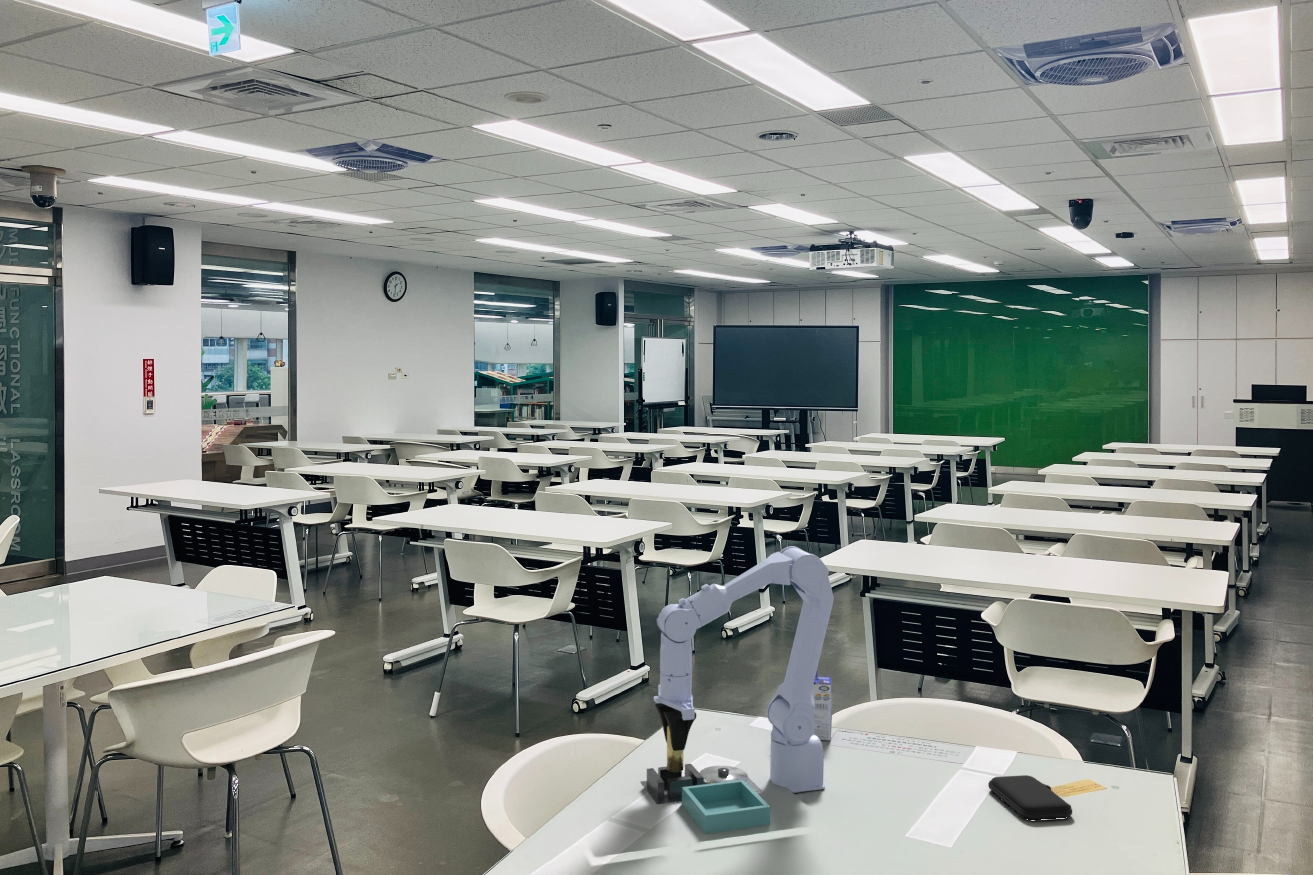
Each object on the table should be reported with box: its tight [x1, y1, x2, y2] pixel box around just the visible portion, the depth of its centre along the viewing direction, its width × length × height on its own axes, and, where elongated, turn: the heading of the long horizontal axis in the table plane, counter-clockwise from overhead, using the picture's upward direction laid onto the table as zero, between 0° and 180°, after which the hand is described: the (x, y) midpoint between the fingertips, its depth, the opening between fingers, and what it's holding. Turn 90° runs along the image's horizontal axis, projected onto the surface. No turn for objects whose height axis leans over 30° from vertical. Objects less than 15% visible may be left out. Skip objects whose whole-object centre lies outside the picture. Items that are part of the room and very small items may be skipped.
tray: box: [681, 780, 771, 835], centre depth 164 cm, size 12×12×4 cm
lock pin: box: [666, 725, 685, 772], centre depth 174 cm, size 3×3×8 cm
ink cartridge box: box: [812, 670, 833, 741], centre depth 204 cm, size 10×6×14 cm, turn 82°
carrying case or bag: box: [987, 774, 1073, 820], centre depth 172 cm, size 11×3×15 cm
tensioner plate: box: [640, 763, 763, 805], centre depth 176 cm, size 20×10×4 cm, turn 108°
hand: (675, 745), depth 174 cm, fingers closed on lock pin, 3 cm apart
